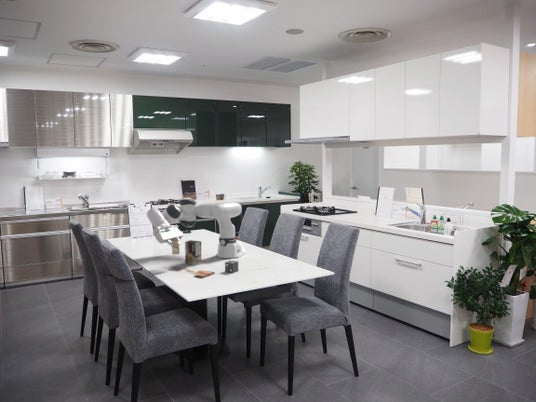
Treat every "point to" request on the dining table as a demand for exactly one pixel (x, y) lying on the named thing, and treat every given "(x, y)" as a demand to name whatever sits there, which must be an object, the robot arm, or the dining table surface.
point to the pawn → (175, 248)
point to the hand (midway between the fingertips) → (176, 245)
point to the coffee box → (193, 252)
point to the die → (231, 266)
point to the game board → (198, 274)
